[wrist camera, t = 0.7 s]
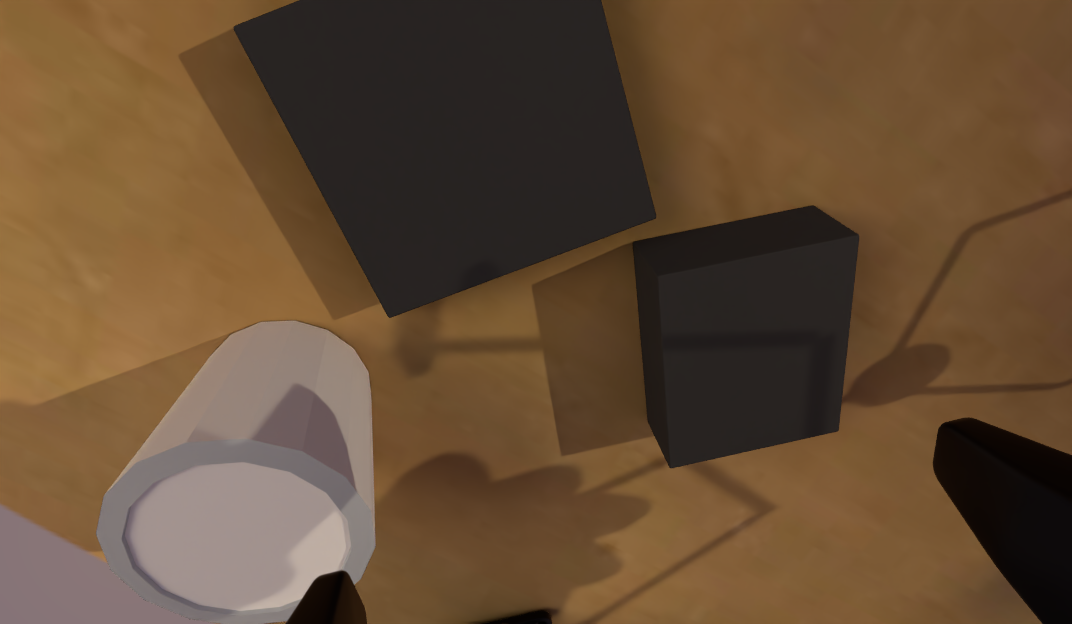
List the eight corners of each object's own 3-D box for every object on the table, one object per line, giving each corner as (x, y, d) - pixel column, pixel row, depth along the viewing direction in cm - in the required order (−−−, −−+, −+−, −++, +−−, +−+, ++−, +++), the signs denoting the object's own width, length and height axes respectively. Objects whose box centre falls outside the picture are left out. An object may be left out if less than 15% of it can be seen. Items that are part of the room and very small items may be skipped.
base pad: (642, 201, 22) (657, 218, 20) (390, 296, 22) (388, 319, 20) (562, -103, 17) (573, -108, 16) (247, 21, 17) (231, 27, 16)
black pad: (801, 388, 27) (839, 431, 24) (647, 421, 26) (669, 469, 24) (813, 204, 23) (860, 234, 20) (632, 241, 22) (657, 276, 20)
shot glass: (153, 419, 23) (53, 587, 17) (236, 267, 21) (156, 398, 15) (333, 487, 25) (304, 654, 19) (424, 359, 23) (423, 502, 17)
